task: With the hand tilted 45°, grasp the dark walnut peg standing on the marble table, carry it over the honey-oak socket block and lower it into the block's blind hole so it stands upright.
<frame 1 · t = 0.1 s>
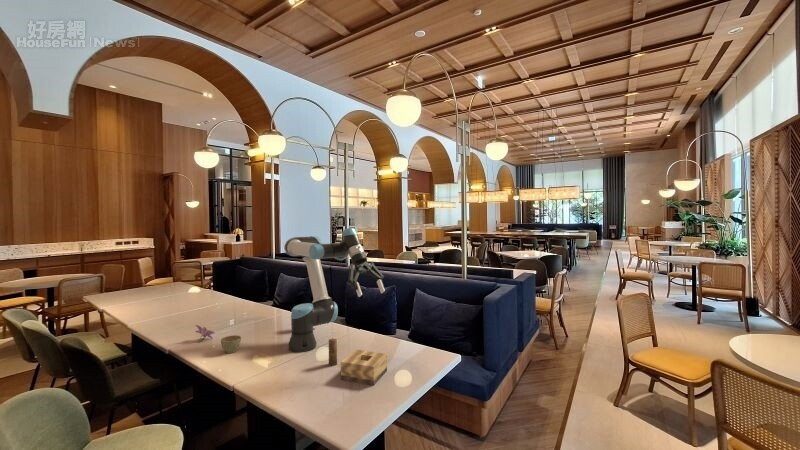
hand: (372, 293, 163), 36 cm above the table, tool tilted 35°, fingers open, 13 cm apart
socket block: (364, 375, 155), on the table
lily: (204, 340, 202), on the table
pin: (332, 364, 167), on the table
flower pot: (231, 351, 184), on the table
wine glass: (309, 329, 221), on the table
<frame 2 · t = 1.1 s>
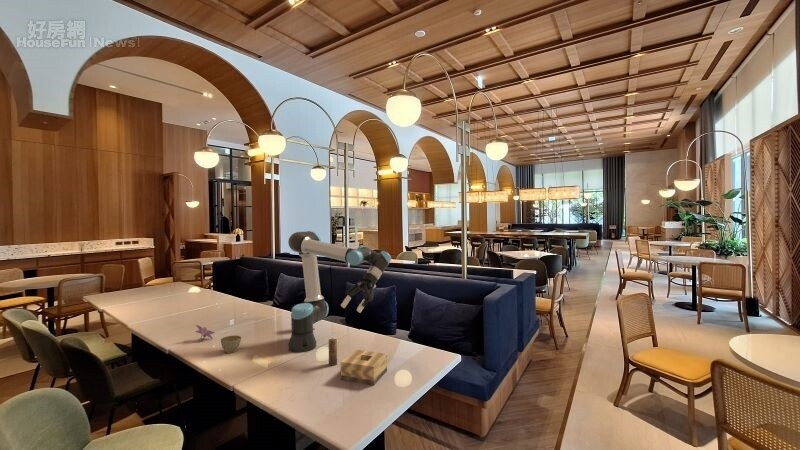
hand: (350, 309, 174), 25 cm above the table, tool tilted 45°, fingers open, 13 cm apart
nothing on the table moved.
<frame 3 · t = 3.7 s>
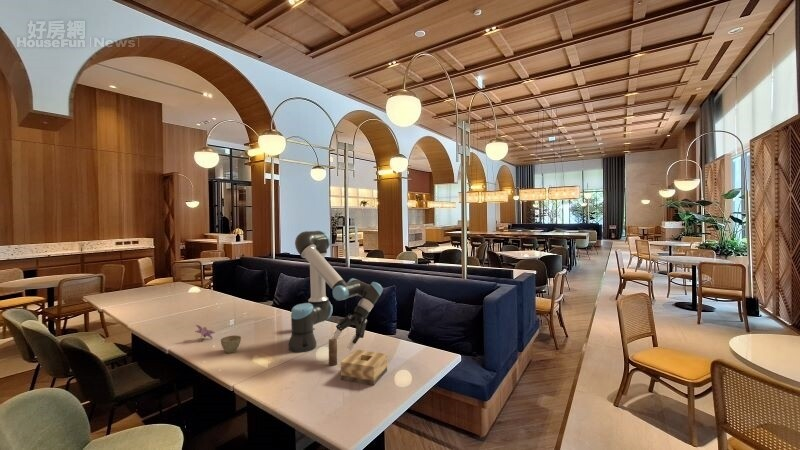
hand: (340, 345, 169), 9 cm above the table, tool tilted 45°, fingers open, 13 cm apart
nothing on the table moved.
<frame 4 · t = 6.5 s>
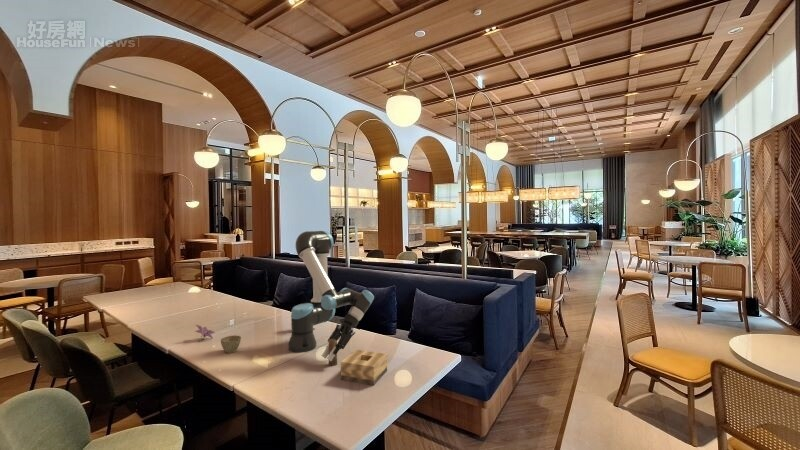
hand: (326, 358, 165), 4 cm above the table, tool tilted 45°, fingers closed on pin, 4 cm apart
pin: (332, 364, 167), on the table, touching gripper
everything else where it was.
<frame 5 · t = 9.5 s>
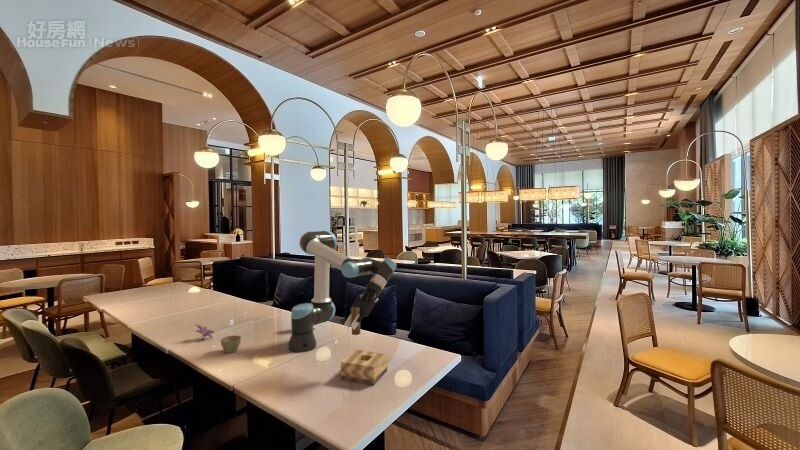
hand: (349, 326, 155), 22 cm above the table, tool tilted 45°, fingers closed on pin, 4 cm apart
pin: (356, 333, 158), point 18 cm above the table, touching gripper
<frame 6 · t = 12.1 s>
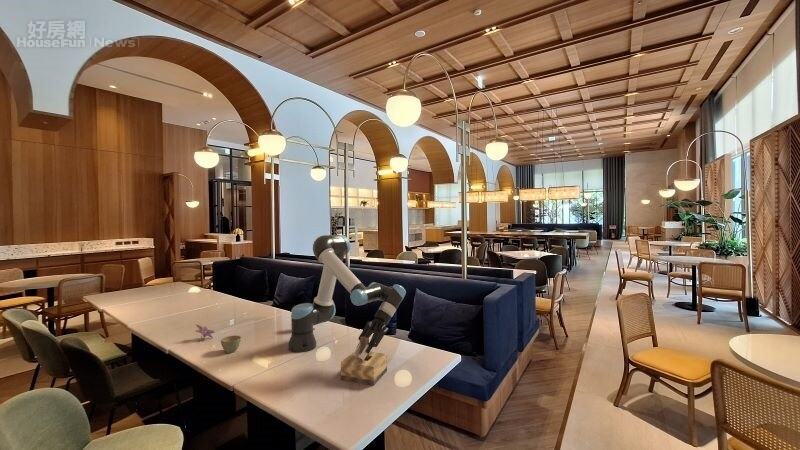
hand: (358, 357, 153), 9 cm above the table, tool tilted 45°, fingers closed on pin, 4 cm apart
pin: (364, 363, 155), point 5 cm above the table, touching gripper
when the fingers open (9 cm above the table, at t = 12.7 s): pin drops 3 cm, resting on socket block.
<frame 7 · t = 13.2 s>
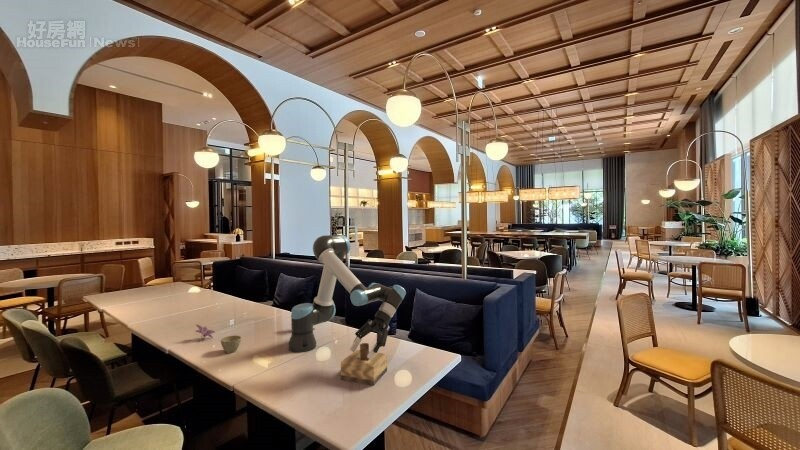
hand: (360, 354, 153), 10 cm above the table, tool tilted 45°, fingers open, 12 cm apart
pin: (365, 370, 155), point 2 cm above the table, touching socket block
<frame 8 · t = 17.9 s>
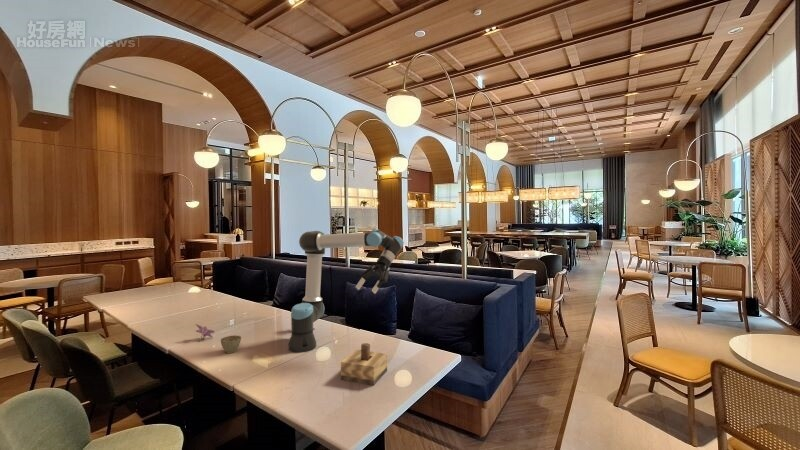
hand: (365, 290, 181), 34 cm above the table, tool tilted 45°, fingers open, 13 cm apart
at the end: pin 0.2 cm off-centre on the socket block, point 2.1 cm above the socket block's base; pin tilted 2°; the gripper is holding nothing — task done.
